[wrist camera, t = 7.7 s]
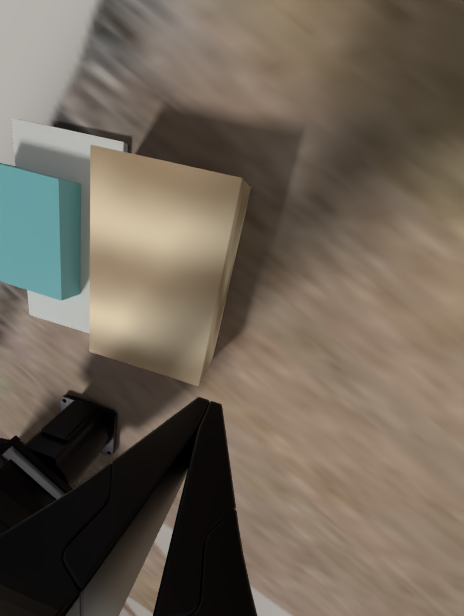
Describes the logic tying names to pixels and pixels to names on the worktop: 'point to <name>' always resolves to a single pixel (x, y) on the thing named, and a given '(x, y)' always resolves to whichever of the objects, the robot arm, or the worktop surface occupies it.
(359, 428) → the worktop surface
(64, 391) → the worktop surface
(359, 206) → the worktop surface
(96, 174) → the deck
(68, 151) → the mat
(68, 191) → the teal rectangular block
